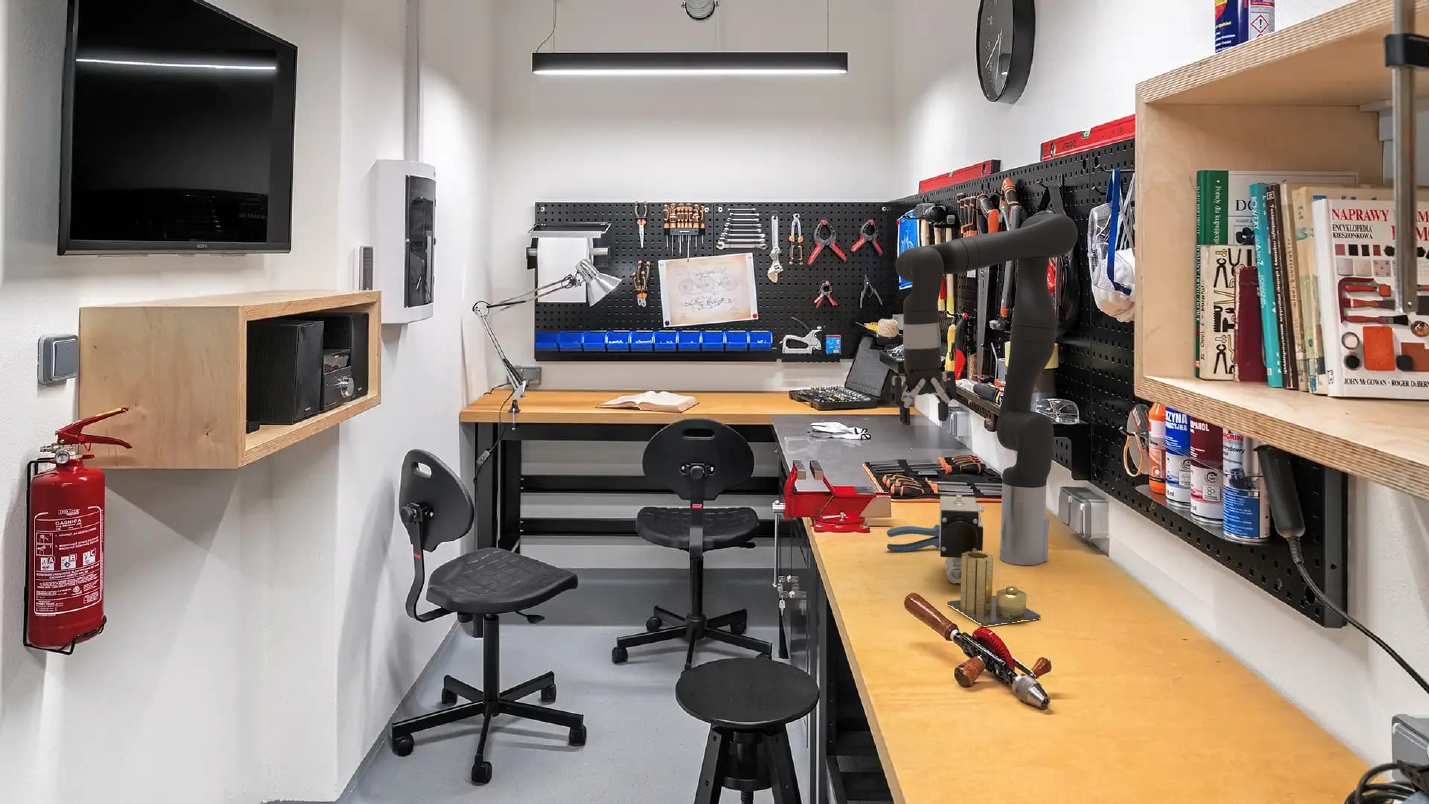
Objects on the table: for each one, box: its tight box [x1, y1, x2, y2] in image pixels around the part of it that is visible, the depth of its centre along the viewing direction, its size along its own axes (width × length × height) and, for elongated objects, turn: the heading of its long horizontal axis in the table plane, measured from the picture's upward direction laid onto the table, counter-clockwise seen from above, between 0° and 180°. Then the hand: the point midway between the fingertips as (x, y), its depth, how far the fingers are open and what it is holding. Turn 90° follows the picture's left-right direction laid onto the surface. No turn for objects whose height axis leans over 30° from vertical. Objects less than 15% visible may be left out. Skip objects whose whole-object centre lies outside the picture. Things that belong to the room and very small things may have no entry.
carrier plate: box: [947, 594, 1042, 627], centre depth 175 cm, size 12×12×5 cm
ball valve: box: [938, 494, 985, 584], centre depth 194 cm, size 18×8×18 cm, turn 168°
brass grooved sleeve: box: [960, 551, 994, 613], centre depth 176 cm, size 6×6×10 cm
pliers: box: [886, 523, 940, 553], centre depth 216 cm, size 20×2×6 cm, turn 98°
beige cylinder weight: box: [996, 585, 1027, 620], centre depth 172 cm, size 5×5×5 cm
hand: (924, 422), depth 196 cm, fingers open, 8 cm apart
